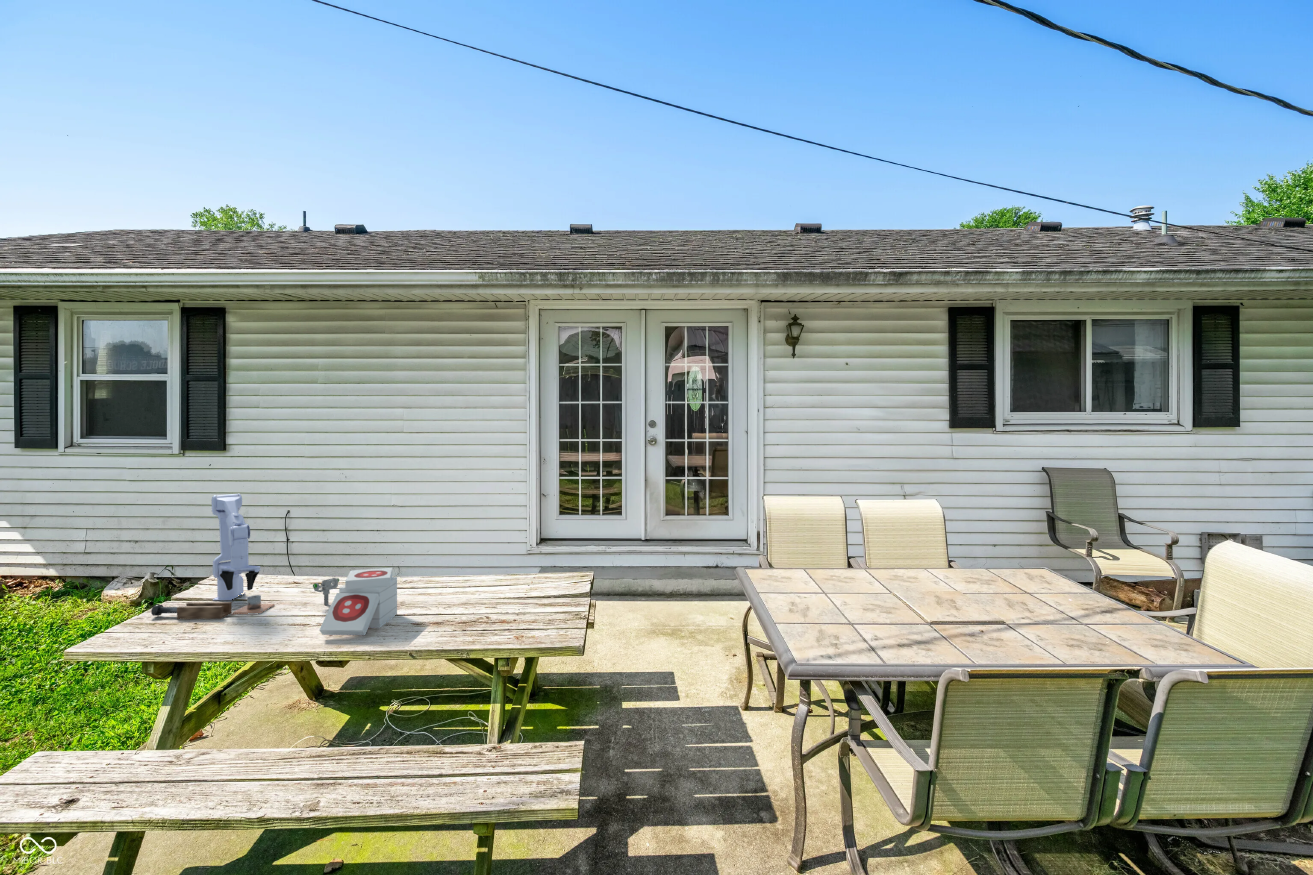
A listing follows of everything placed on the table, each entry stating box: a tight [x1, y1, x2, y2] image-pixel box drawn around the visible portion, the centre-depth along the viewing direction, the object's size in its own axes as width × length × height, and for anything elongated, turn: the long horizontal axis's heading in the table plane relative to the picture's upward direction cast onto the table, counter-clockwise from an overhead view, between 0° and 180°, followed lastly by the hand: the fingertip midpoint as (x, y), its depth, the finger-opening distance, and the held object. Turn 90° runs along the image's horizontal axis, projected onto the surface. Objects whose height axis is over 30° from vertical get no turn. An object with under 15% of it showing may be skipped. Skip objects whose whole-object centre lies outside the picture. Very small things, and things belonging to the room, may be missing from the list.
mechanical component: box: [312, 577, 340, 606], centre depth 240 cm, size 3×10×10 cm, turn 152°
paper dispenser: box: [319, 567, 398, 636], centre depth 217 cm, size 19×30×18 cm, turn 1°
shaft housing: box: [176, 601, 233, 620], centre depth 224 cm, size 16×6×4 cm, turn 94°
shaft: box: [150, 604, 178, 617], centre depth 224 cm, size 20×4×4 cm, turn 94°
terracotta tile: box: [232, 603, 275, 615], centre depth 232 cm, size 10×10×1 cm
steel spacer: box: [246, 594, 262, 610], centre depth 232 cm, size 4×4×5 cm
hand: (239, 589), depth 231 cm, fingers open, 7 cm apart
